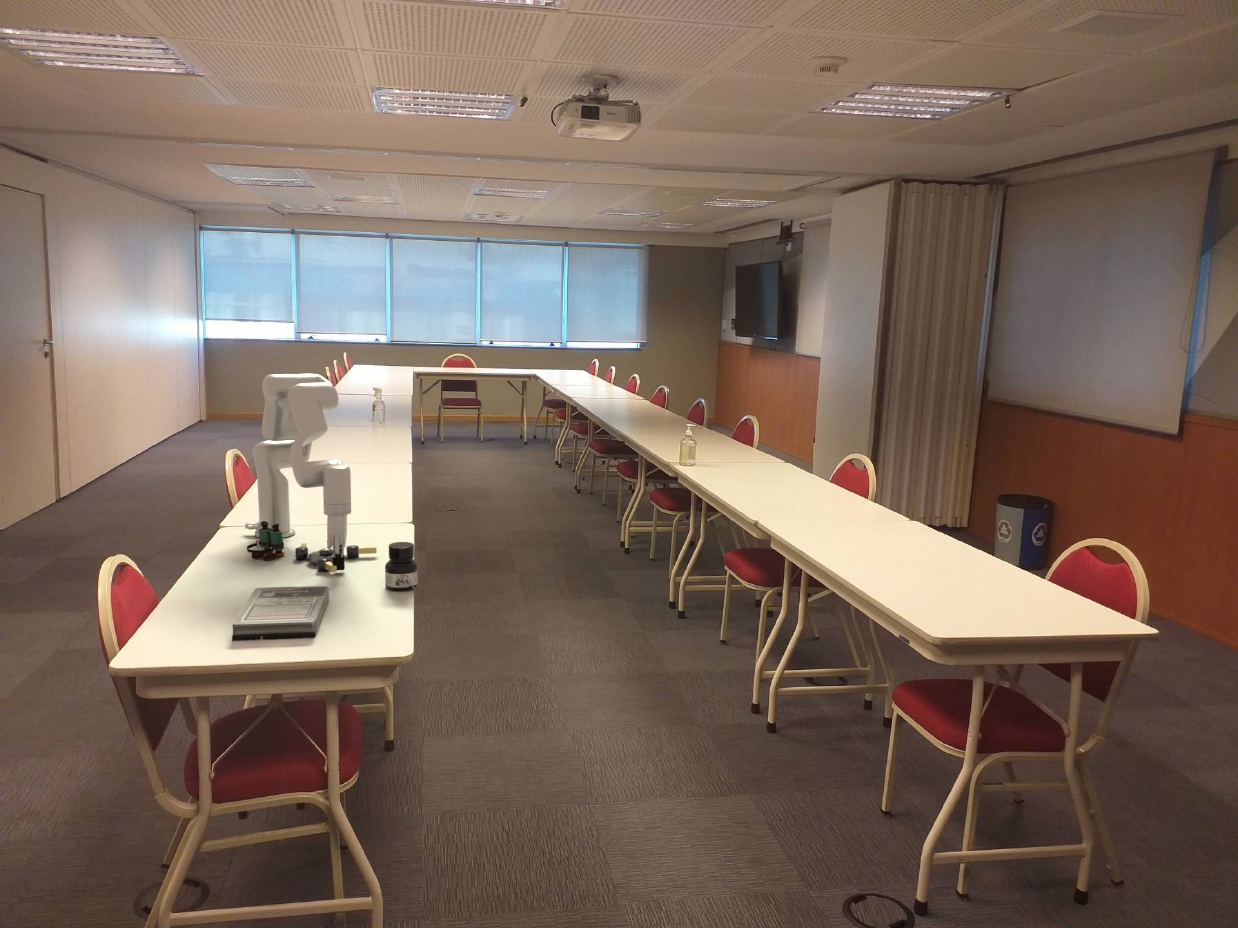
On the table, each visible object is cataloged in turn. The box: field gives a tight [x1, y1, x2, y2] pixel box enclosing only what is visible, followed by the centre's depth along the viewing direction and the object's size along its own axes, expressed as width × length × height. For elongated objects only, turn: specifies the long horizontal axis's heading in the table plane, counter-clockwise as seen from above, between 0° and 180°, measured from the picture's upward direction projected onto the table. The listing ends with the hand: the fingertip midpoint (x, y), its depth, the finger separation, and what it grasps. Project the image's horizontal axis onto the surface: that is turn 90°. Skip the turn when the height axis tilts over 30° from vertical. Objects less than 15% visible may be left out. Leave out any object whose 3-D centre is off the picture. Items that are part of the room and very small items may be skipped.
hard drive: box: [231, 585, 330, 642], centre depth 221 cm, size 18×27×4 cm
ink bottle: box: [384, 541, 419, 592], centre depth 247 cm, size 10×9×12 cm
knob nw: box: [295, 542, 309, 562], centre depth 274 cm, size 9×4×3 cm, turn 13°
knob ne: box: [346, 544, 377, 560], centre depth 275 cm, size 9×4×3 cm, turn 103°
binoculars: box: [246, 521, 285, 562], centre depth 271 cm, size 9×11×10 cm
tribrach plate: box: [305, 547, 348, 568], centre depth 268 cm, size 12×11×4 cm
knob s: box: [317, 558, 338, 573], centre depth 259 cm, size 9×4×3 cm, turn 42°
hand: (338, 569), depth 259 cm, fingers closed
